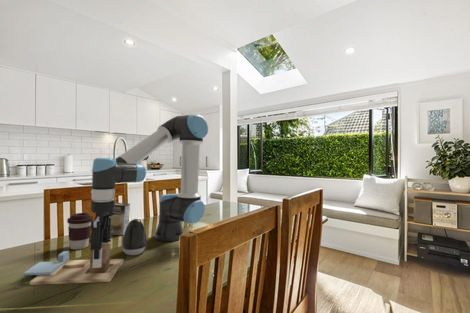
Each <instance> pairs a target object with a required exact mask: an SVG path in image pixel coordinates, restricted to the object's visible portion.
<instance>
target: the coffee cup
mask: <svg viewBox="0 0 470 313" xmlns="http://www.w3.org/2000/svg"><path fill="white" fill-rule="evenodd" d="M92 221H94V217H93V216H92V215H90V213H88V212H79V213H73V214H72V215H71V216H70V217H68V218H67V223H68V227H67V228H68V230H67V231H68V240H69V241H68V242H69V249H71V250H75V251H76V250H77V251H78V250H82V249H85V248H87V247H89V244H90V243H89V242H90V238H91V230H92V228H91V222H92Z"/></svg>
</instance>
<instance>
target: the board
mask: <svg viewBox="0 0 470 313" xmlns="http://www.w3.org/2000/svg"><path fill="white" fill-rule="evenodd" d="M124 261H125V260H124V258H110V267H109V269H108V270H107V272H106V273H90V259H68V260H67V261H66V262H65V263H63V264H62V265H61V266H60V267H59V268H57V269H56V270H55V271H54V272H53V273H51V274H50V275H36V277H34V278H33V279H31V280H30V281H29V285H31V286H32V285H33V286H35V285H37V286H38V285H55V284H56V285H59V284H61V285H62V284H81V283H82V284H83V283H85V284H87V283H88V284H89V283H109V282H111V281H112V279H113V278H114V276H115V274H116V273H117V272H118V271H119V270H120V269H119V268H120V267H121V266H122V264H123V263H124ZM55 262H58V260H56V261H55Z"/></svg>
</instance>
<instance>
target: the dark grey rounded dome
mask: <svg viewBox="0 0 470 313" xmlns="http://www.w3.org/2000/svg"><path fill="white" fill-rule="evenodd" d="M122 236H123V237H122V240H121V248H122V250H123V253H124V254H125V255H127V256H137V255H140V254H142V253H143V252H144V251H145V250H146V246H147V244H148V240H147V233H146V230H145V225H144V223H143V222H142V220H140V219H138V218H133V219H131V220H129V224H128V225H127V227H126V230H125V233H124V235H122Z"/></svg>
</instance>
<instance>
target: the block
mask: <svg viewBox="0 0 470 313" xmlns="http://www.w3.org/2000/svg"><path fill="white" fill-rule="evenodd" d="M101 248H102V267H101V268H93V250H90V257H89V260H90V273H106V272H107V270H108V269H109V267H110V259H111V258H110V257H111V243H108V244H102V246H101Z"/></svg>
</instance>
